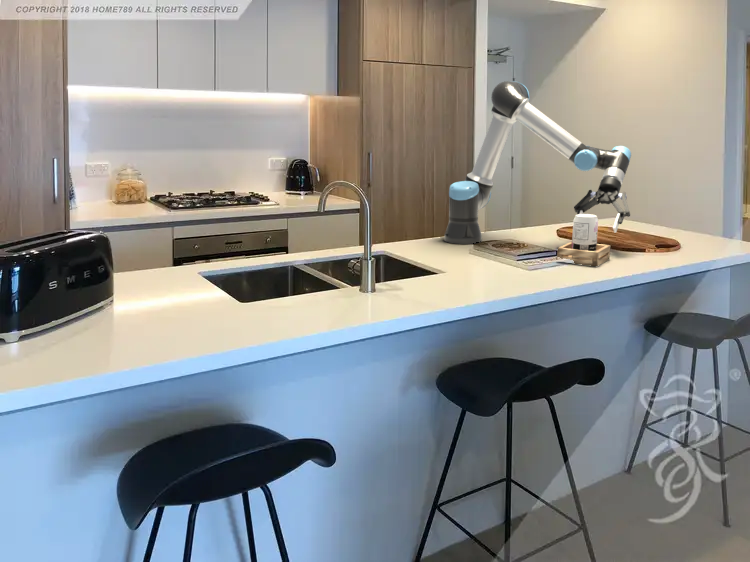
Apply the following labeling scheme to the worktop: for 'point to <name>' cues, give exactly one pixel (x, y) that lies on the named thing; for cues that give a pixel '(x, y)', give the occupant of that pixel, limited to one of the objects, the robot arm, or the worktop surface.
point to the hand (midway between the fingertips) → (595, 228)
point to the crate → (585, 254)
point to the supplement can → (585, 233)
